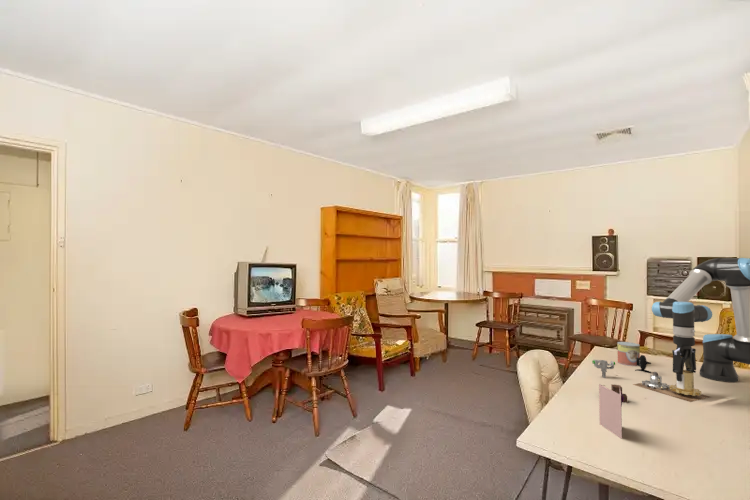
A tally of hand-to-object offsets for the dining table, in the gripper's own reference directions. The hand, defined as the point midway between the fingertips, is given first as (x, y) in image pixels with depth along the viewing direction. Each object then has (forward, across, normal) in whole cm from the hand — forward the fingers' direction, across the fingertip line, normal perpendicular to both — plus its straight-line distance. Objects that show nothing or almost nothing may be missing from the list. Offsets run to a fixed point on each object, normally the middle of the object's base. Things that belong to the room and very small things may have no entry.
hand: (684, 387), depth 164 cm
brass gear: (+2, 0, 0) cm, 2 cm away
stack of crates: (+6, -31, +11) cm, 33 cm away
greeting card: (+5, -63, -9) cm, 64 cm away
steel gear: (+3, 0, +12) cm, 12 cm away
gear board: (+5, 0, +6) cm, 8 cm away
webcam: (+5, +22, +31) cm, 38 cm away
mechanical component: (+5, -10, +31) cm, 33 cm away
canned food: (+5, +35, +47) cm, 59 cm away
